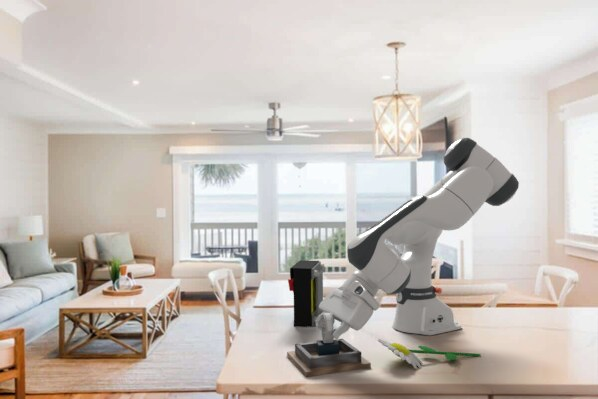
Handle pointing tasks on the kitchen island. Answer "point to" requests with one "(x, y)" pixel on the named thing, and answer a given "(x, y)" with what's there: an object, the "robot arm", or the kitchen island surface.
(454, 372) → the kitchen island surface
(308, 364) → the dock
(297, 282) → the electrical component
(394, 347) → the decorative flower
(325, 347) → the watch
